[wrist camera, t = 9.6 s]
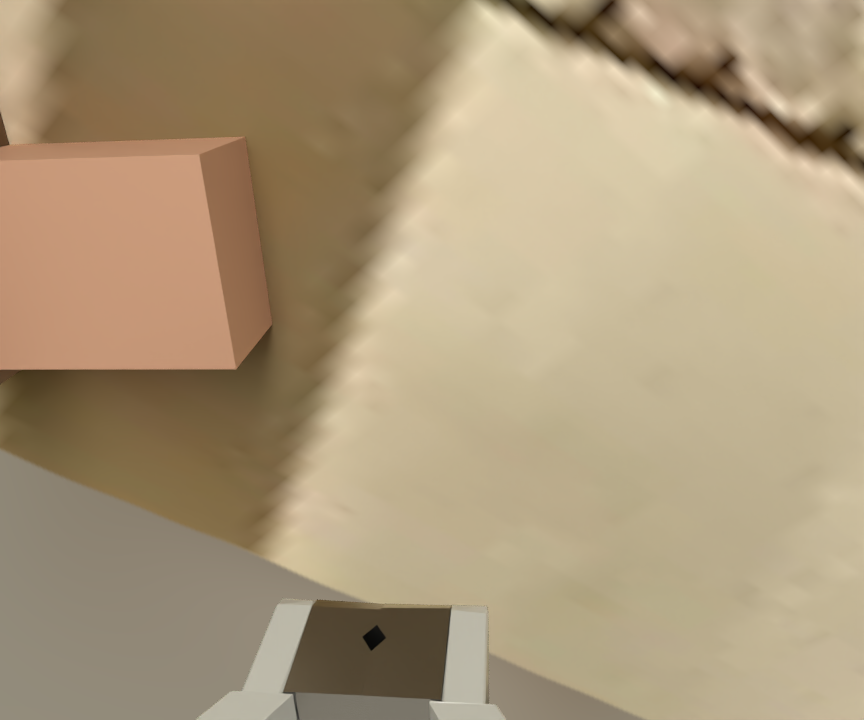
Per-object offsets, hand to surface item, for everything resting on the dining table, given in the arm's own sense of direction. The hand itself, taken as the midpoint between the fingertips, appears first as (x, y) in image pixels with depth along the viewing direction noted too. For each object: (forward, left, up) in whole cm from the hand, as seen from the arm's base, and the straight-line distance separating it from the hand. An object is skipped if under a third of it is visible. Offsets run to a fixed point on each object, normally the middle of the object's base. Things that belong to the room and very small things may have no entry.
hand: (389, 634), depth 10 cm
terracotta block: (+14, -1, -21) cm, 25 cm away
